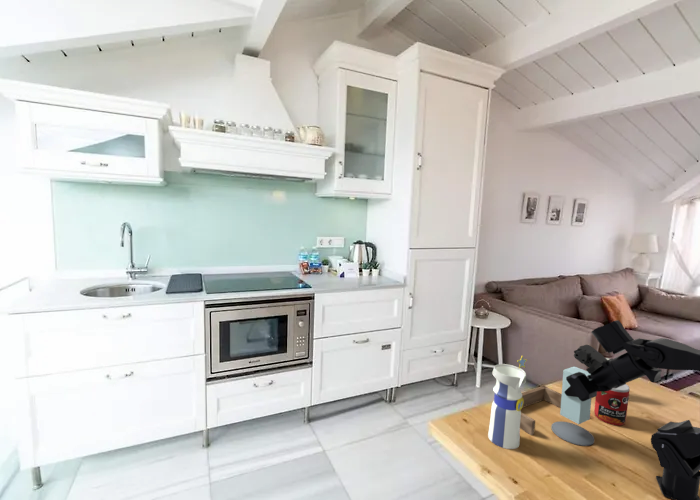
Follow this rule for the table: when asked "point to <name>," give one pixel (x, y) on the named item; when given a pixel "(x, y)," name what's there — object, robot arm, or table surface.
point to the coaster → (572, 433)
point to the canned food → (612, 405)
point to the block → (574, 400)
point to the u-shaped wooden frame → (533, 397)
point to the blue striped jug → (507, 405)
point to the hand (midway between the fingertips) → (571, 391)
